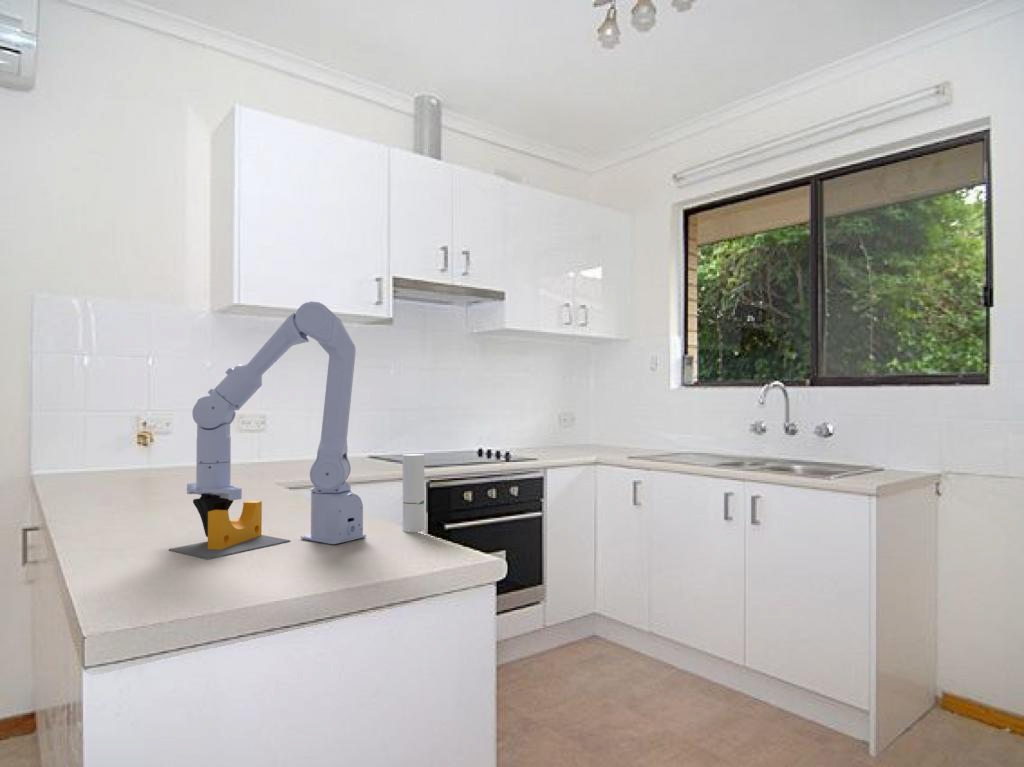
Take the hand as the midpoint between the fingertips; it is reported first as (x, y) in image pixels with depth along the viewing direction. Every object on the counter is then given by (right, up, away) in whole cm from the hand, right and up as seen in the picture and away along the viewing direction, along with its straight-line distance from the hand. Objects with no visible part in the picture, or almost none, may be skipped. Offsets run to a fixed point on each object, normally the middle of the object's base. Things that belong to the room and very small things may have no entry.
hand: (213, 536), depth 119 cm
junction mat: (+5, -1, -3) cm, 6 cm away
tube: (+35, -1, +10) cm, 37 cm away
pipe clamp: (+4, -1, -1) cm, 4 cm away
